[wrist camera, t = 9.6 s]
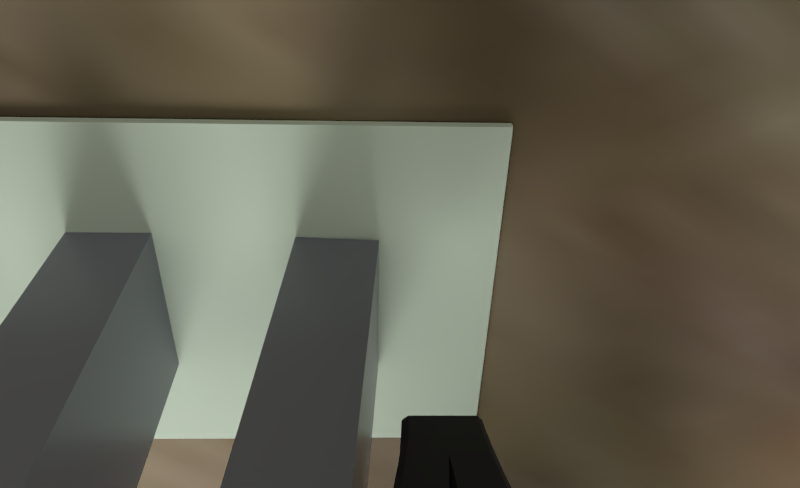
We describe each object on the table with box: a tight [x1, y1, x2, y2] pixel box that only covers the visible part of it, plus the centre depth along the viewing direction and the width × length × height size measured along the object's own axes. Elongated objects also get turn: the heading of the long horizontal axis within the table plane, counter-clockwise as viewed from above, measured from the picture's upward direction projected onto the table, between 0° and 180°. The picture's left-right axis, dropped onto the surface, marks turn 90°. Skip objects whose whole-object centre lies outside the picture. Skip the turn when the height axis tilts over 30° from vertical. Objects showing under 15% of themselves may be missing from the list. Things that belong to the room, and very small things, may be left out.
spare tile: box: [0, 232, 179, 488], centre depth 13 cm, size 2×4×7 cm, turn 179°
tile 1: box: [220, 237, 379, 488], centre depth 13 cm, size 2×4×7 cm, turn 178°
